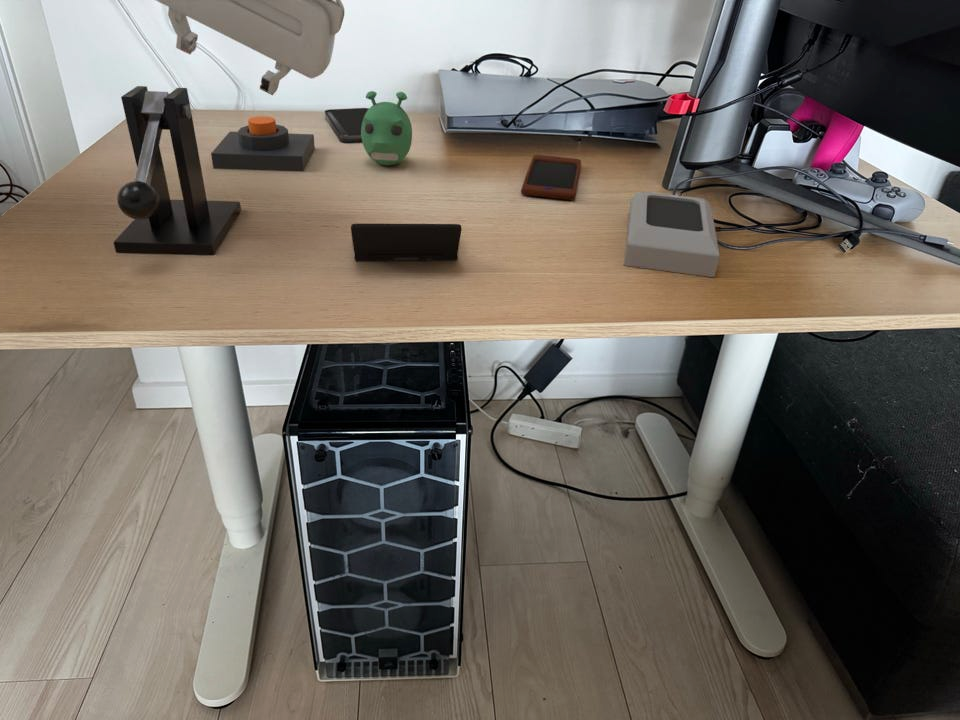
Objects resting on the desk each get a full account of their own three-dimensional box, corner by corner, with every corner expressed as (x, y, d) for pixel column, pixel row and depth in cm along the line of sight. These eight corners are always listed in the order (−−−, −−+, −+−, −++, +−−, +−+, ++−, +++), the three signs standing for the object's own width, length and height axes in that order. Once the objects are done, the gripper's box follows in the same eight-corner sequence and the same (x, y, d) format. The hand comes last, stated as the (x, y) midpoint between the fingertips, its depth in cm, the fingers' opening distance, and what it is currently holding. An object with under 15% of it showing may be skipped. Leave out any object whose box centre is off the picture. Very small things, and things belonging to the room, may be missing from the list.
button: (246, 136, 96) (245, 123, 95) (252, 128, 99) (251, 115, 98) (273, 137, 96) (272, 124, 95) (279, 129, 99) (277, 116, 98)
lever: (161, 227, 68) (147, 205, 65) (122, 226, 68) (107, 204, 64) (184, 113, 74) (173, 87, 70) (149, 112, 73) (135, 85, 70)
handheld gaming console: (448, 216, 81) (452, 167, 71) (463, 272, 79) (470, 230, 69) (348, 235, 79) (339, 188, 70) (362, 293, 77) (354, 253, 68)
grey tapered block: (629, 233, 74) (633, 185, 87) (623, 265, 76) (628, 214, 89) (722, 245, 73) (713, 195, 85) (714, 277, 75) (706, 223, 87)
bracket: (214, 255, 74) (187, 110, 66) (115, 252, 73) (76, 105, 65) (241, 210, 84) (221, 80, 75) (155, 208, 83) (125, 76, 75)
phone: (340, 136, 106) (323, 109, 117) (341, 143, 106) (324, 116, 118) (392, 133, 108) (370, 107, 120) (392, 140, 109) (370, 114, 120)
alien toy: (356, 172, 97) (352, 96, 91) (368, 154, 103) (365, 83, 97) (407, 176, 96) (406, 100, 91) (416, 158, 103) (415, 86, 97)
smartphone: (520, 188, 91) (533, 153, 104) (520, 195, 92) (532, 159, 104) (575, 194, 90) (581, 158, 103) (574, 201, 91) (580, 164, 103)
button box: (213, 169, 95) (208, 139, 93) (231, 146, 103) (227, 118, 101) (303, 172, 96) (300, 142, 93) (314, 149, 104) (312, 121, 102)
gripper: (358, -13, 72) (325, 101, 82) (162, -118, 68) (152, 14, 78) (338, 9, 67) (306, 127, 77) (128, -102, 64) (122, 37, 74)
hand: (227, 70), depth 78 cm, fingers open, 8 cm apart
